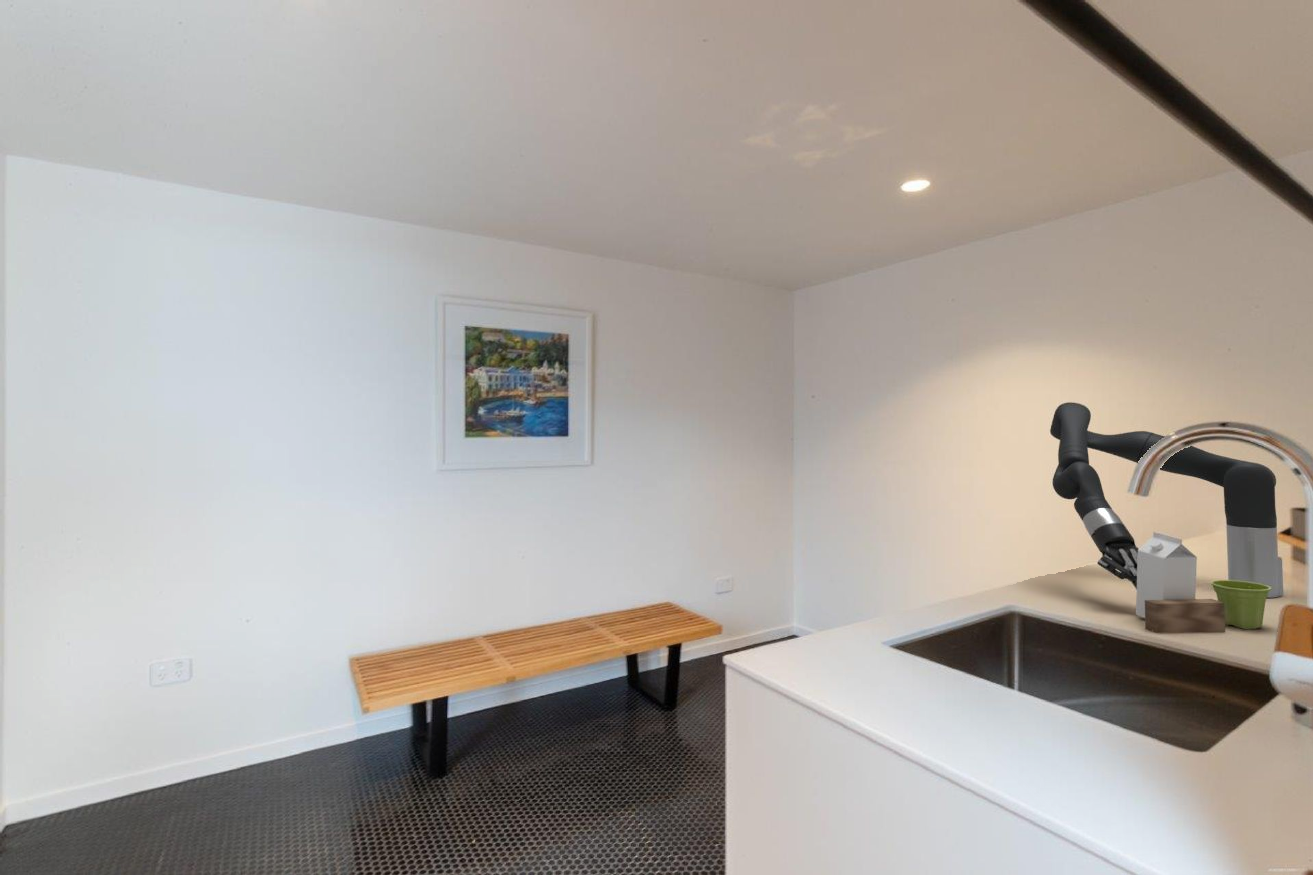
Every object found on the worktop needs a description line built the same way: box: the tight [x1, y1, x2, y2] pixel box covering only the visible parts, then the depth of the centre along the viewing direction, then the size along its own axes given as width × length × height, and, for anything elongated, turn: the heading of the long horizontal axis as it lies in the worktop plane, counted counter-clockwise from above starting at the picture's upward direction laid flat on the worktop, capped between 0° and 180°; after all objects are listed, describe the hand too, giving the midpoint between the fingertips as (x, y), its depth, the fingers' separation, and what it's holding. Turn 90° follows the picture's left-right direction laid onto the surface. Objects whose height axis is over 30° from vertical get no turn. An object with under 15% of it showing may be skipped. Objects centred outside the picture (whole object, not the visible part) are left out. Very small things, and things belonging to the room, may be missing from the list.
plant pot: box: [1210, 579, 1271, 630], centre depth 130 cm, size 9×9×9 cm
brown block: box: [1144, 598, 1226, 633], centre depth 128 cm, size 14×3×6 cm, turn 89°
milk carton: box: [1135, 531, 1198, 619], centre depth 133 cm, size 7×7×19 cm
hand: (1147, 593), depth 138 cm, fingers closed
